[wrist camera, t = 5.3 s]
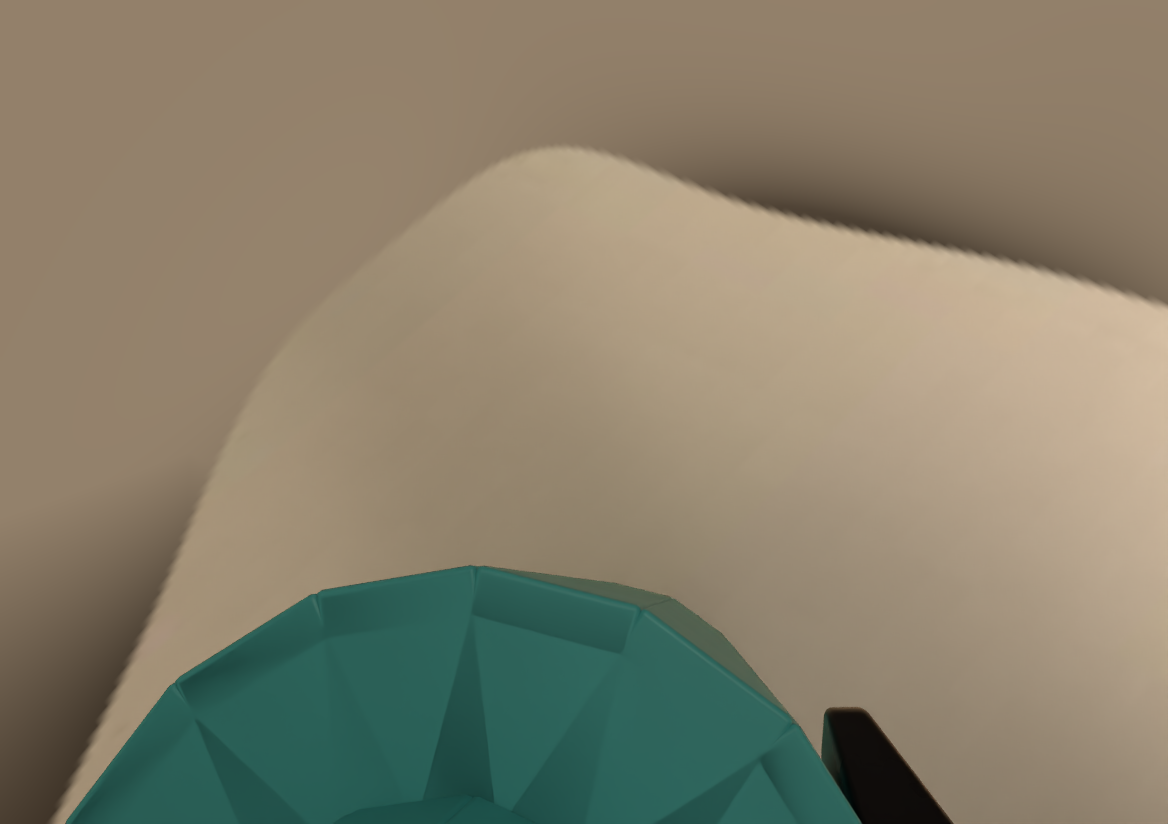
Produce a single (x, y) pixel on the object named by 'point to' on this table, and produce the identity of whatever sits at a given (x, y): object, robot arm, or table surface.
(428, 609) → the detergent bottle
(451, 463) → the table surface
